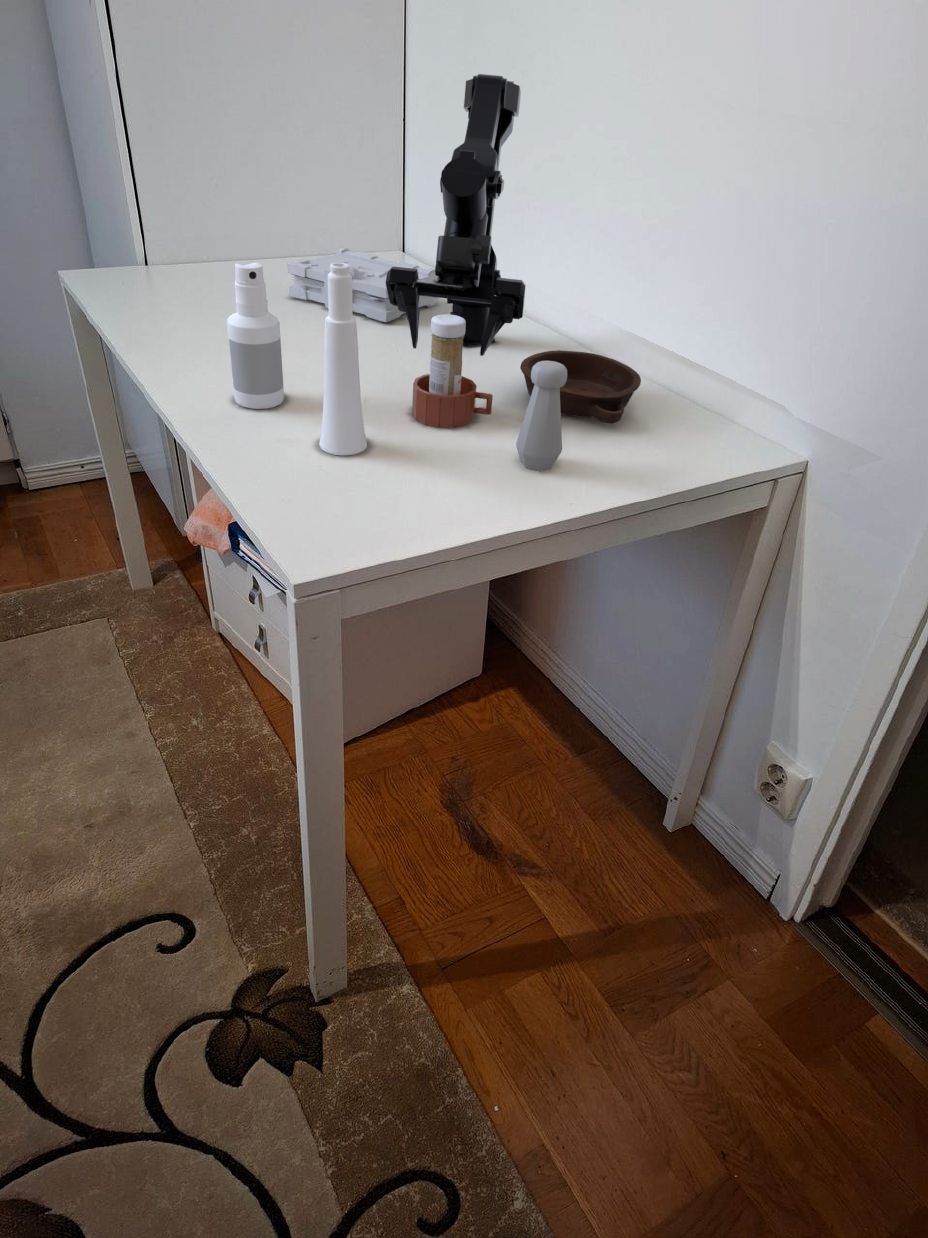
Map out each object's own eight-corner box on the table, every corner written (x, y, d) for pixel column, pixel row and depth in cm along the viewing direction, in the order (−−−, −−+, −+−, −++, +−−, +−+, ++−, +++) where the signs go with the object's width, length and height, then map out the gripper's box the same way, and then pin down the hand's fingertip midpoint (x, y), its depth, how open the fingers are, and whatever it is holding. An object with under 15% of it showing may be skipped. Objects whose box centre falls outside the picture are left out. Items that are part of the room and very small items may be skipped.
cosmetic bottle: (371, 454, 104) (371, 271, 91) (323, 457, 103) (316, 272, 89) (362, 434, 109) (361, 257, 96) (316, 437, 107) (308, 257, 94)
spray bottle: (241, 412, 112) (228, 273, 101) (228, 394, 116) (214, 259, 106) (290, 406, 114) (282, 270, 104) (276, 388, 119) (267, 256, 108)
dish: (555, 438, 112) (560, 403, 109) (493, 379, 128) (496, 347, 125) (664, 427, 118) (672, 394, 115) (592, 372, 134) (597, 341, 131)
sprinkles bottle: (465, 418, 115) (472, 321, 107) (438, 424, 113) (443, 325, 105) (448, 406, 118) (453, 311, 110) (420, 411, 116) (424, 314, 108)
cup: (407, 424, 112) (408, 392, 110) (418, 400, 119) (419, 369, 117) (487, 433, 112) (490, 401, 109) (493, 408, 119) (496, 378, 116)
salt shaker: (511, 452, 107) (523, 354, 100) (554, 454, 108) (569, 356, 100) (517, 473, 103) (530, 371, 95) (562, 474, 103) (578, 373, 96)
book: (330, 274, 170) (329, 235, 165) (443, 304, 159) (446, 262, 154) (265, 293, 156) (262, 250, 152) (384, 326, 145) (384, 281, 141)
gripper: (389, 200, 106) (371, 312, 104) (533, 214, 105) (518, 327, 103) (399, 251, 117) (382, 353, 115) (529, 265, 116) (515, 368, 114)
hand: (447, 350), depth 111 cm, fingers open, 9 cm apart
